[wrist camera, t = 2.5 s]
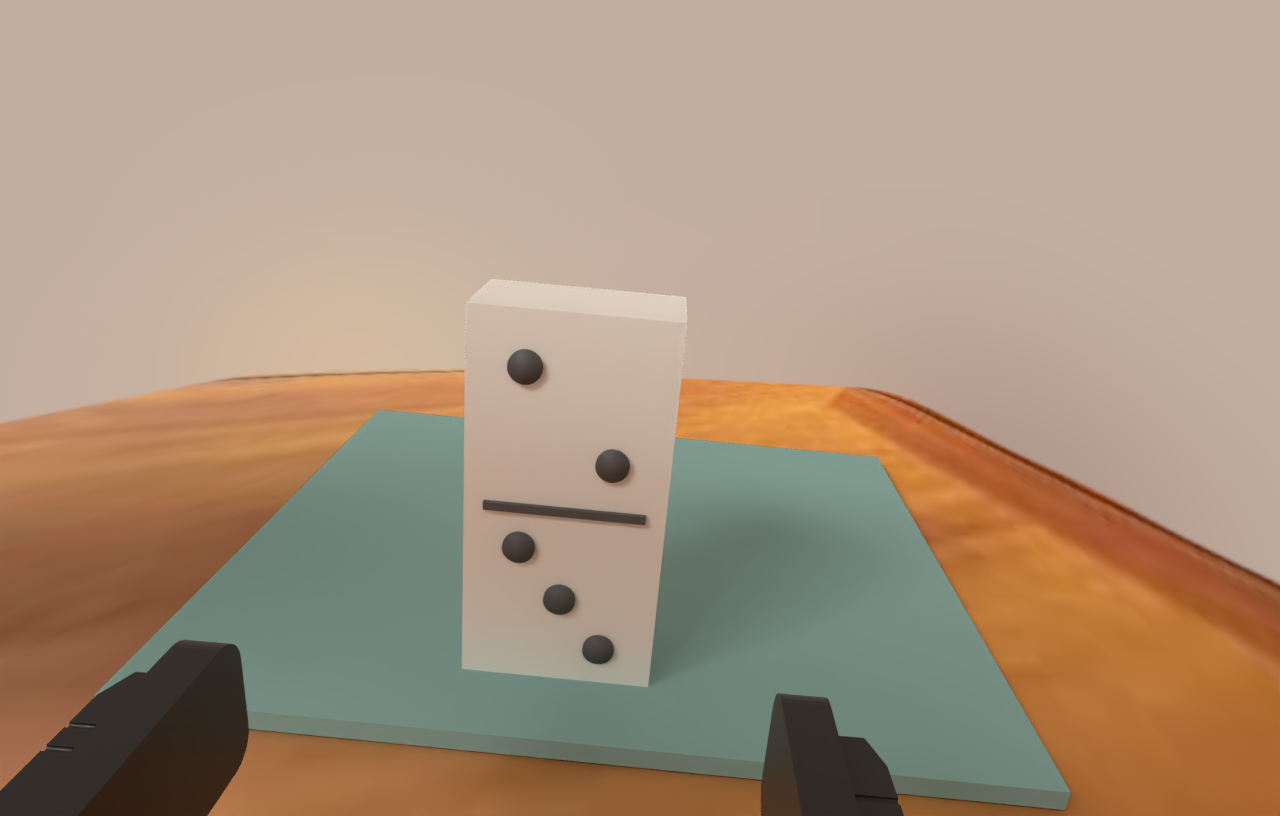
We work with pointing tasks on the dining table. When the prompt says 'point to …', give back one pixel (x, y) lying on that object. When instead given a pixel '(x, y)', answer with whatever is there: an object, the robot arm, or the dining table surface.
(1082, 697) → the dining table surface
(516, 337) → the domino
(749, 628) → the mat
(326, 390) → the dining table surface
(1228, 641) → the dining table surface
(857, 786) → the robot arm
